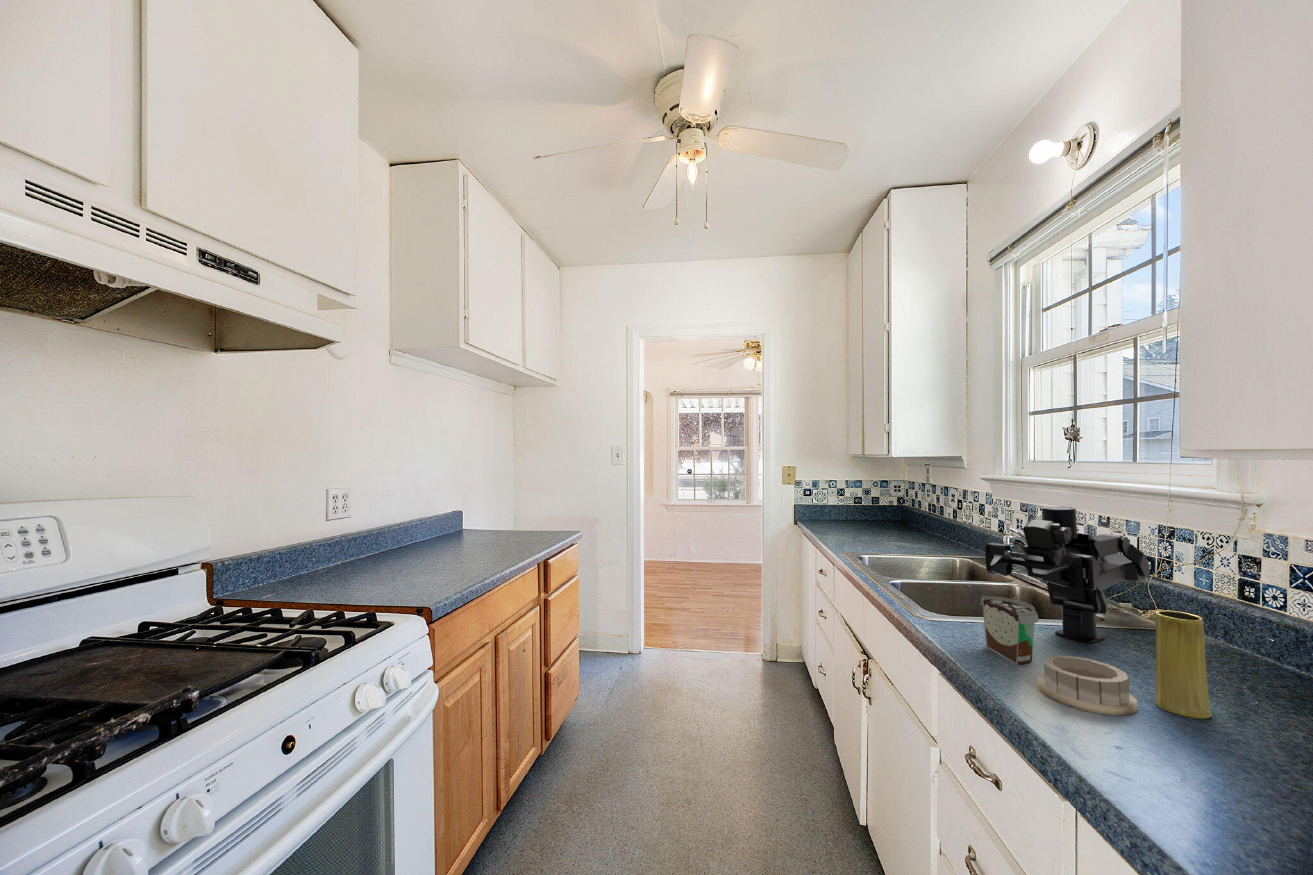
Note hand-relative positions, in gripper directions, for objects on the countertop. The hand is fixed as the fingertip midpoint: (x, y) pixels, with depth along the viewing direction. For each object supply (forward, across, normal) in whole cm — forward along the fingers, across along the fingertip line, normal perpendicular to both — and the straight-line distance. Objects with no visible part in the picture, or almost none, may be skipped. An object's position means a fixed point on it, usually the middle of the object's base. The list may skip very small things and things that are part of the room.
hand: (1016, 572), depth 99 cm
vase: (0, +22, +17) cm, 28 cm away
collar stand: (+8, +13, +16) cm, 22 cm away
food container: (-2, -2, +17) cm, 17 cm away
